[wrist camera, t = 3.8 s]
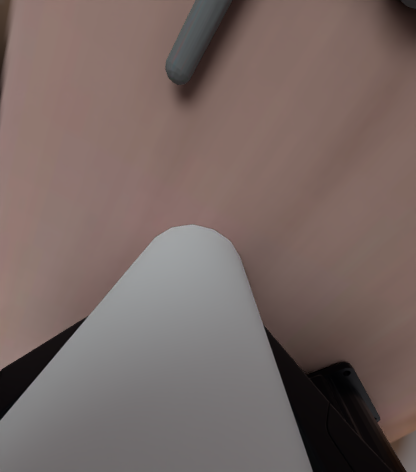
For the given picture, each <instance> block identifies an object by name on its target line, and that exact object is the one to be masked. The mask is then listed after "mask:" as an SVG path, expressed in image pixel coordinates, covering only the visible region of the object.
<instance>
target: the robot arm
mask: <svg viewBox="0 0 416 472" xmlns="http://www.w3.org/2000/svg"><path fill="white" fill-rule="evenodd" d="M87 317H88V316H87ZM87 317H86V318H84V319H82V320H81V321H79V322H78V323H76V324H74V325H73V326H71V327H69V328H68V329H66V330H65V331H63V332H61V333H60V334H58V335H57V336H55V337H53V338H52V339H50V340H48V341H47V342H45V343H44V344H42V345H40V346H39V347H37V348H35V349H34V350H32V351H31V352H29V353H27V354H26V355H24V356H23V357H21V358H19V359H18V360H16V361H14V362H13V363H11V364H10V365H8V366H6V367H5V368H3V369H2V370H1V371H0V420H1V419H2V418H3V417H4V416H5V414H6V413H7V412H8V411H9V410H10V408H11V407H12V406H13V405H14V404H15V403H16V401H17V400H18V399H19V398H20V397H21V395H22V394H23V393H24V392H25V391H26V390H27V388H28V387H29V386H30V385H31V384H32V382H33V381H34V380H35V379H36V378H37V377H38V375H39V374H40V373H41V372H42V371H43V369H44V368H45V367H46V366H47V365H48V364H49V362H50V361H51V360H52V359H53V358H54V356H55V355H56V354H57V353H58V352H59V351H60V349H61V348H62V347H63V346H64V345H65V343H66V342H67V341H68V340H69V339H70V338H71V336H72V335H73V334H74V333H75V332H76V330H77V329H78V328H79V327H80V326H81V325H82V323H83V322H84V321H85V320H86V319H87ZM263 326H264V325H263ZM264 329H265V332H266V335H267V338H268V341H269V344H270V347H271V350H272V353H273V356H274V358H275V361H276V364H277V367H278V370H279V373H280V376H281V379H282V382H283V385H284V388H285V391H286V394H287V397H288V400H289V403H290V406H291V409H292V412H293V414H294V417H295V420H296V423H297V426H298V429H299V432H300V435H301V438H302V441H303V444H304V447H305V450H306V453H307V456H308V459H309V462H310V465H311V468H312V470H313V472H406V470H405V468H404V467H403V465H402V463H401V462H400V460H399V458H398V457H397V455H396V454H395V452H394V450H393V448H392V447H391V445H390V443H389V442H388V440H387V438H386V437H385V435H384V433H383V431H382V430H381V428H380V426H379V425H378V423H377V422H378V421H379V420H380V417H379V415H378V413H377V411H376V409H375V407H374V406H373V404H372V402H371V400H370V398H369V396H368V394H367V393H366V391H365V389H364V387H363V385H362V383H361V382H360V380H359V378H358V376H357V374H356V372H355V371H354V369H353V367H352V366H351V364H350V363H347V362H343V363H339V364H337V365H334V366H331V367H328V368H326V369H323V370H320V371H318V372H315V373H312V374H309V375H306V374H305V373H304V372H303V371H302V370H301V368H300V367H299V366H298V365H297V364H296V363H295V361H294V360H293V359H292V358H291V357H290V356H289V354H288V353H287V352H286V351H285V350H284V348H283V347H282V346H281V345H280V344H279V343H278V341H277V340H276V339H275V338H274V337H273V336H272V334H271V333H270V332H269V331H268V330H267V328H266V327H265V326H264Z"/></svg>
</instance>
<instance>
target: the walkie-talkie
mask: <svg viewBox="0 0 416 472" xmlns="http://www.w3.org/2000/svg"><path fill="white" fill-rule="evenodd" d="M401 1H402V2H403V3H404V4H405V5H406V6H408V7H411V8H414V9H416V0H401ZM231 2H232V0H196V1H195V3H194V5H193V7H192V9H191V11H190V13H189V15H188V17H187V19H186V21H185V23H184V25H183V27H182V29H181V31H180V34H179V36H178V38H177V40H176V42H175V44H174V46H173V48H172V50H171V52H170V54H169V56H168V58H167V60H166V72H167V75H168V77H169V79H170V80H171V81H172V82H173V83H175V84H177V85H182V84H186V83H187V82H188V81H189V80H190V78H191V76H192V75H193V73H194V71H195V69H196V67H197V65H198V63H199V61H200V60H201V58H202V56H203V54H204V52H205V50H206V48H207V47H208V45H209V43H210V41H211V39H212V37H213V35H214V33H215V32H216V30H217V28H218V26H219V24H220V22H221V20H222V19H223V17H224V15H225V13H226V11H227V9H228V7H229V5H230V4H231Z"/></svg>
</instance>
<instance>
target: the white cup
mask: <svg viewBox="0 0 416 472" xmlns="http://www.w3.org/2000/svg"><path fill="white" fill-rule="evenodd" d="M0 472H313V470H312V468H311V465H310V462H309V459H308V456H307V453H306V450H305V447H304V444H303V441H302V438H301V435H300V432H299V429H298V426H297V423H296V420H295V417H294V414H293V412H292V409H291V406H290V403H289V400H288V397H287V394H286V391H285V388H284V385H283V382H282V379H281V376H280V373H279V370H278V367H277V364H276V361H275V358H274V356H273V353H272V350H271V347H270V344H269V341H268V338H267V335H266V332H265V329H264V326H263V323H262V320H261V317H260V314H259V311H258V308H257V305H256V302H255V299H254V297H253V294H252V291H251V288H250V285H249V282H248V279H247V276H246V273H245V270H244V267H243V264H242V261H241V258H240V256H239V254H238V253H237V251H236V249H235V248H234V246H233V245H232V243H231V241H229V240H228V239H226V238H225V237H224V236H222V235H221V234H219V233H218V232H217V231H215V230H214V229H210V228H205V227H201V226H197V225H186V226H178V227H172V228H170V229H168V230H167V231H165V232H163V233H162V234H160V235H158V236H156V237H155V238H154V239H153V241H152V242H151V243H150V244H149V245H148V246H147V248H146V249H145V250H144V251H143V252H142V254H141V255H140V256H139V257H138V258H137V259H136V261H135V262H134V263H133V264H132V265H131V267H130V268H129V269H128V270H127V271H126V272H125V274H124V275H123V276H122V277H121V278H120V280H119V281H118V282H117V283H116V284H115V285H114V287H113V288H112V289H111V290H110V291H109V293H108V294H107V295H106V296H105V297H104V298H103V300H102V301H101V302H100V303H99V304H98V306H97V307H96V308H95V309H94V310H93V312H92V313H91V314H90V315H89V316H88V317H87V319H86V320H85V321H84V322H83V323H82V325H81V326H80V327H79V328H78V329H77V330H76V332H75V333H74V334H73V335H72V336H71V338H70V339H69V340H68V341H67V342H66V343H65V345H64V346H63V347H62V348H61V349H60V351H59V352H58V353H57V354H56V355H55V356H54V358H53V359H52V360H51V361H50V362H49V364H48V365H47V366H46V367H45V368H44V369H43V371H42V372H41V373H40V374H39V375H38V377H37V378H36V379H35V380H34V381H33V382H32V384H31V385H30V386H29V387H28V388H27V390H26V391H25V392H24V393H23V394H22V395H21V397H20V398H19V399H18V400H17V401H16V403H15V404H14V405H13V406H12V407H11V408H10V410H9V411H8V412H7V413H6V414H5V416H4V417H3V418H2V419H1V420H0Z"/></svg>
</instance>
